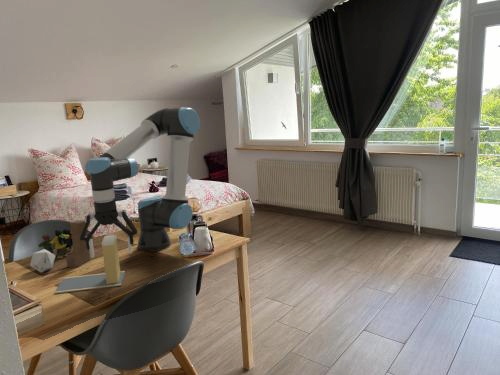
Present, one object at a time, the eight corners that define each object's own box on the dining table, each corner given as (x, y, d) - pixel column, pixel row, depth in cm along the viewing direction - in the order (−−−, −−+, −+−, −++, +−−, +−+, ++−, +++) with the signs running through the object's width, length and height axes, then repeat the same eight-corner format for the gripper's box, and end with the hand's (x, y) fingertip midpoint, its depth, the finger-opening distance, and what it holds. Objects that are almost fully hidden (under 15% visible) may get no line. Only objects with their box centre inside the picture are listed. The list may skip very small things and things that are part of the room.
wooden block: (75, 268, 163) (69, 226, 160) (67, 266, 165) (61, 225, 161) (90, 259, 172) (85, 220, 168) (82, 259, 173) (77, 219, 170)
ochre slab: (120, 273, 155) (116, 234, 151) (118, 282, 147) (113, 241, 144) (109, 275, 154) (105, 235, 151) (106, 284, 146) (101, 242, 143)
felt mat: (125, 272, 157) (124, 270, 157) (121, 286, 145) (121, 284, 145) (63, 279, 153) (63, 277, 153) (54, 294, 140) (54, 292, 140)
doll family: (80, 244, 193) (76, 217, 191) (94, 246, 190) (90, 219, 187) (39, 261, 173) (34, 232, 170) (53, 263, 169) (49, 234, 166)
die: (27, 276, 159) (35, 259, 155) (28, 259, 165) (35, 243, 161) (50, 277, 164) (58, 261, 160) (49, 261, 170) (57, 245, 166)
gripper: (140, 194, 150) (146, 247, 155) (70, 201, 145) (79, 254, 150) (138, 199, 143) (145, 254, 147) (65, 206, 138) (74, 262, 143)
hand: (111, 254), depth 149 cm, fingers open, 13 cm apart
